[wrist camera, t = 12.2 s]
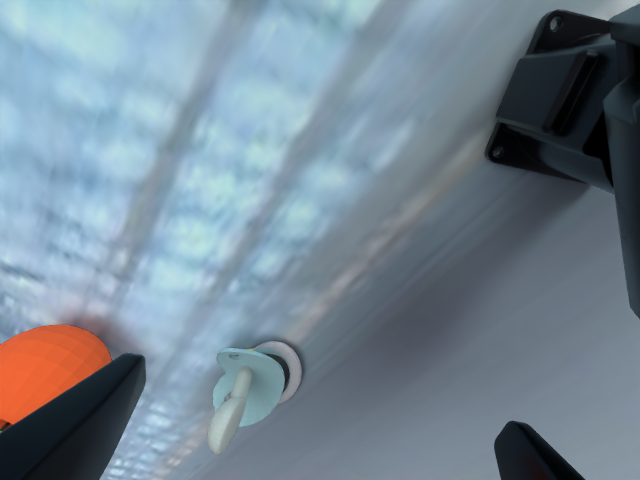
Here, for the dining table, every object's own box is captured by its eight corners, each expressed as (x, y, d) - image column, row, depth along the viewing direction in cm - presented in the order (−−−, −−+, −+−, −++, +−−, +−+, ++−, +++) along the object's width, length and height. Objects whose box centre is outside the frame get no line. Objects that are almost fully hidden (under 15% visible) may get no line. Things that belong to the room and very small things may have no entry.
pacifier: (310, 336, 23) (223, 322, 22) (306, 420, 17) (191, 404, 17) (293, 405, 26) (217, 394, 26) (285, 494, 21) (188, 483, 20)
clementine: (149, 385, 26) (88, 488, 19) (63, 386, 26) (-25, 486, 20) (116, 301, 22) (28, 392, 16) (17, 303, 22) (-108, 393, 16)
